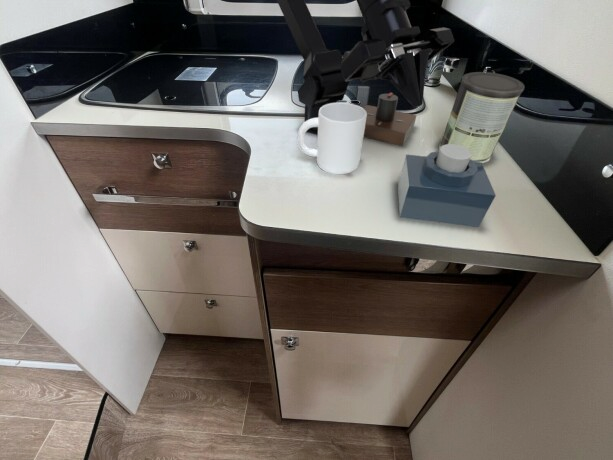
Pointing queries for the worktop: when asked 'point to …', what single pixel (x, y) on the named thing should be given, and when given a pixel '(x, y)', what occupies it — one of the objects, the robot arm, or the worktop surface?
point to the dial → (386, 107)
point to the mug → (336, 137)
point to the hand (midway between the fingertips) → (418, 106)
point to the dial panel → (388, 126)
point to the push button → (453, 158)
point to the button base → (443, 192)
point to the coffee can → (481, 112)
